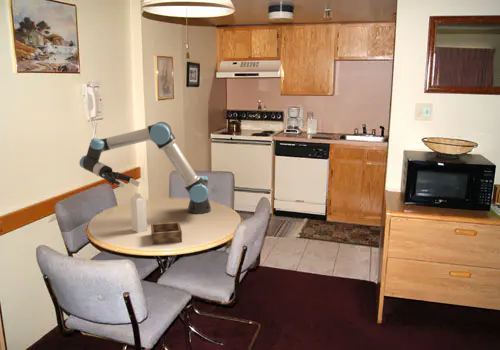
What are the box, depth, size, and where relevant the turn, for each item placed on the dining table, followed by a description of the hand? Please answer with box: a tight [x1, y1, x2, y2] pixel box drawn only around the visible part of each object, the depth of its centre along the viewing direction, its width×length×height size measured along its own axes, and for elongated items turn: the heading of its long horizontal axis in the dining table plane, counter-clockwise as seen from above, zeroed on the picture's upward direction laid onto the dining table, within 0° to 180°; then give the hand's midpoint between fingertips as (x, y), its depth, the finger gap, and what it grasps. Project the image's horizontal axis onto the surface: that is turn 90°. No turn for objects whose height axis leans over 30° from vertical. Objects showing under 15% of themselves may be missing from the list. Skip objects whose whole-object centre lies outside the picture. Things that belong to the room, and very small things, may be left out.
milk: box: [130, 191, 148, 233], centre depth 238 cm, size 6×6×22 cm
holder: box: [150, 221, 183, 245], centre depth 228 cm, size 15×15×6 cm
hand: (131, 185), depth 242 cm, fingers open, 13 cm apart
